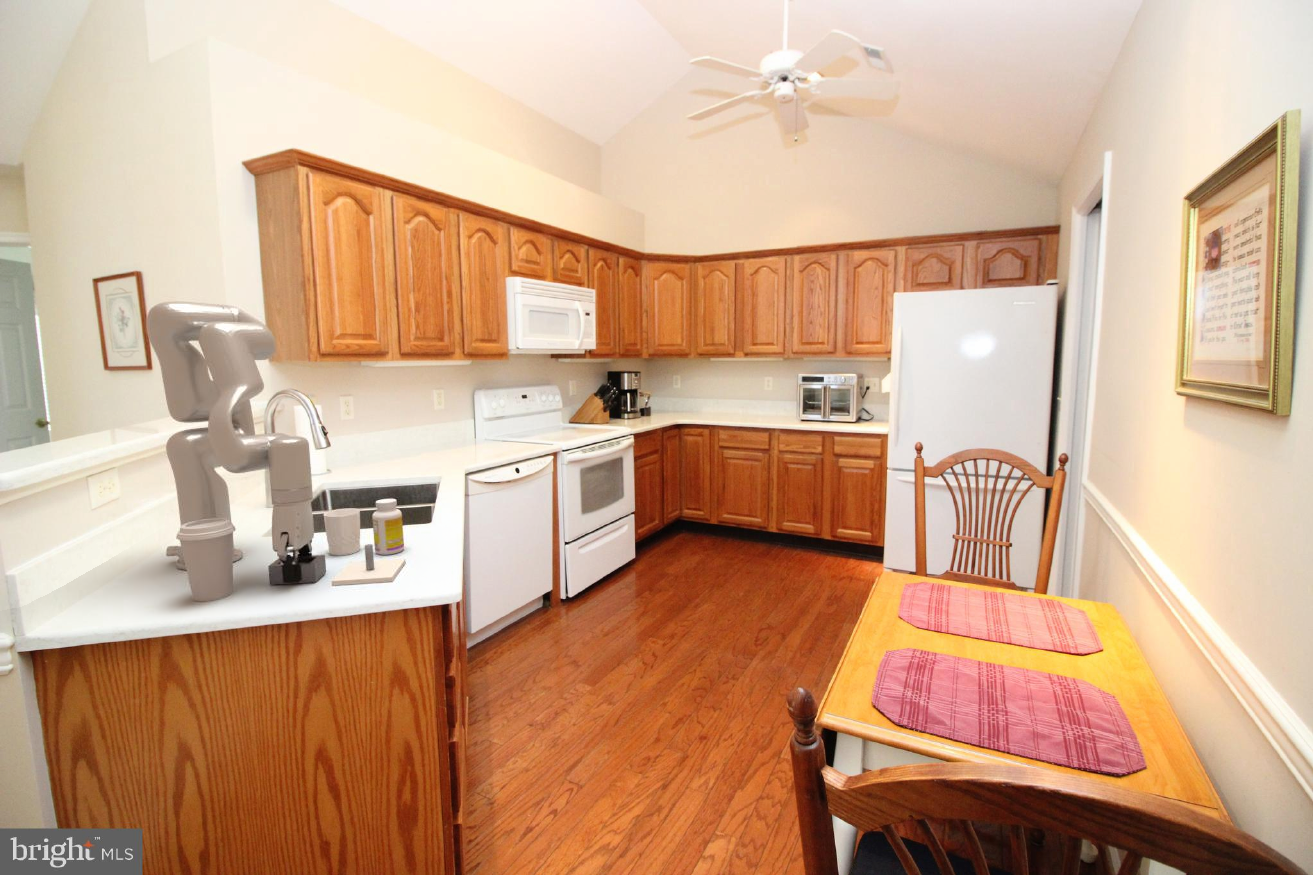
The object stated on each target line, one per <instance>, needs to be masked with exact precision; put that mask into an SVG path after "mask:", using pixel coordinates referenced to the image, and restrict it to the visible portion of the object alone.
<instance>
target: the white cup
mask: <svg viewBox="0 0 1313 875" xmlns="http://www.w3.org/2000/svg"><path fill="white" fill-rule="evenodd" d="M360 512H361V510H360V509H358V508H354V507H353V508H351V507H350V508H337V509H334V510H333V509H332V510H329V511H326V512H324V513H323V519H324V520H323V521H324V526H325V534H326V535H325V536H326V541H327V545H328V553H329V554H330V555H331V556H336V557H337V556H338V557H339V556H348V555H352V554H356V553H357V552H359V551H360V549H361V513H360Z"/></svg>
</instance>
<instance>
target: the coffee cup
mask: <svg viewBox="0 0 1313 875" xmlns="http://www.w3.org/2000/svg"><path fill="white" fill-rule="evenodd" d="M231 522H232V521H231ZM231 522H230V520H229V519H227V518H211V519H203V520H197V521H192V522H189V523H186V524H183V525H181V524H180V526H179V527H180V528H179V530H178V531H177V533H176V536H175V538H176V540H178V541H179V544H180V546H181V548H182V552H183V556H184V560H185V565H186V569H187V570H186V572H187V577H188V582H189V587H190V590H191V595H192V599H193V601H195V602H210V601H215V600H220V599H223V598H225V597H228V596H230V595H232V594H233V592H234V591H233V590H234V562H233V541H234V532H235V531H236V530H237V528H236V526H235V525H234V523H231Z"/></svg>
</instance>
